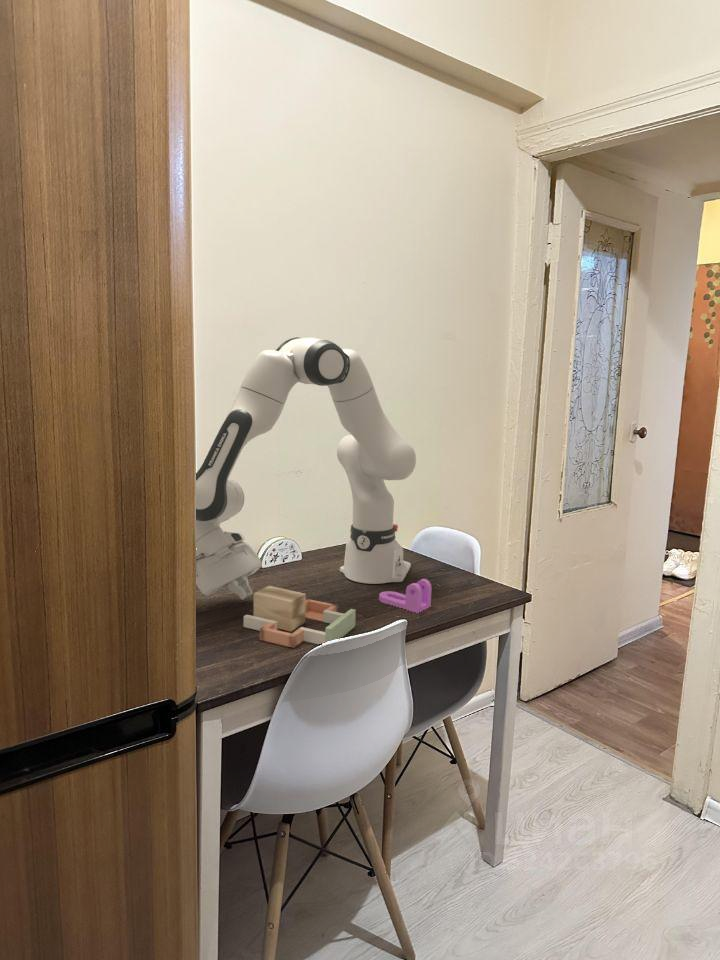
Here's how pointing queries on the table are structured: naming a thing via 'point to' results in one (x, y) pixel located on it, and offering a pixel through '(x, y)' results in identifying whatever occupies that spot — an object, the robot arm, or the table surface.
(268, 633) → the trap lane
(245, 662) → the table surface
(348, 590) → the table surface
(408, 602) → the bracket
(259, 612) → the maple block
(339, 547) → the table surface
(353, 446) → the robot arm
